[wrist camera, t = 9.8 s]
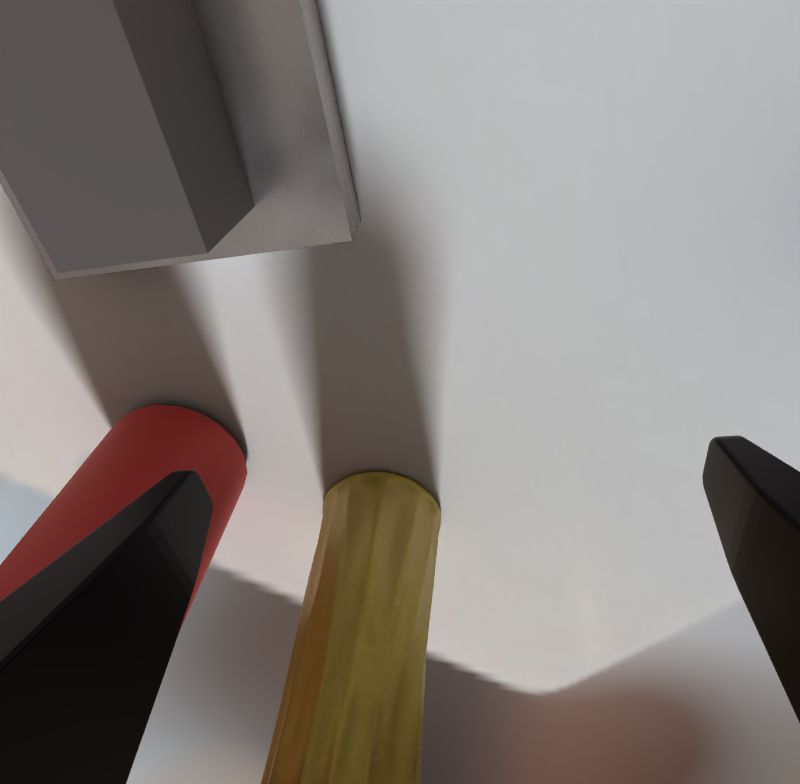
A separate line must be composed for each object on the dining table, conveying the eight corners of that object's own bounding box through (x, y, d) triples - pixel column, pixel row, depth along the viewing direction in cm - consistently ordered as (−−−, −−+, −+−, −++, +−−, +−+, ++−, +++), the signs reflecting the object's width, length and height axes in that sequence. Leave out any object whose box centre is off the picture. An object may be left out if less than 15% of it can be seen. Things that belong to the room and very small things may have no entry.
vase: (410, 563, 30) (381, 908, 19) (307, 526, 29) (209, 868, 18) (462, 496, 27) (465, 868, 15) (348, 452, 26) (259, 816, 14)
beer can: (109, 384, 25) (-119, 632, 15) (252, 412, 25) (120, 674, 15) (126, 484, 28) (-45, 733, 19) (250, 507, 29) (144, 765, 19)
